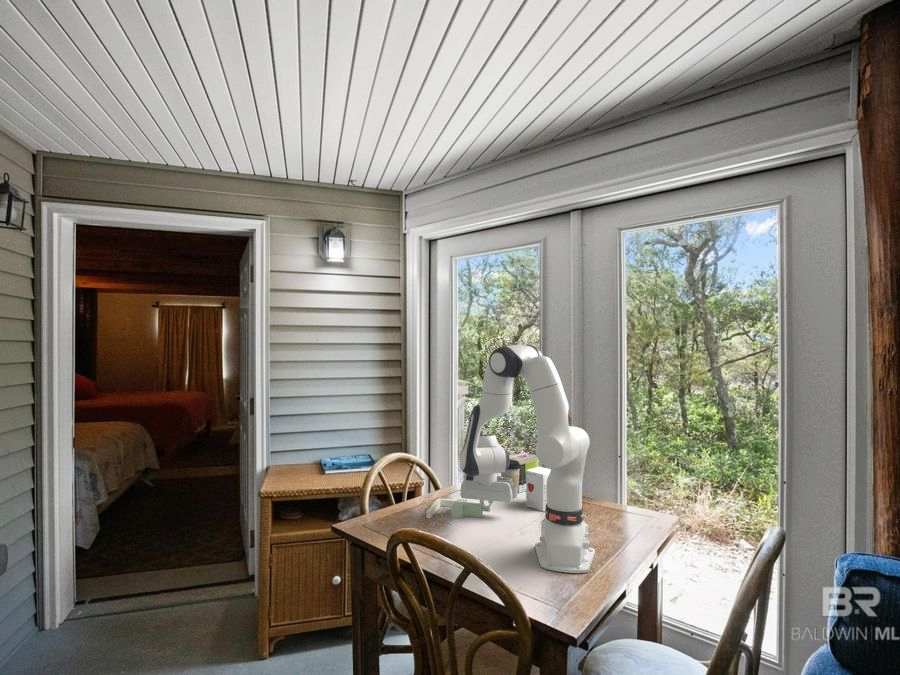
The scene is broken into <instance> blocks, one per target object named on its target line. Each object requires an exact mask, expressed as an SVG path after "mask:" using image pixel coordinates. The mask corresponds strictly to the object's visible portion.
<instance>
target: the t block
mask: <svg viewBox="0 0 900 675" xmlns="http://www.w3.org/2000/svg"><path fill="white" fill-rule="evenodd" d="M455 500H456V502H455V503H454V504H453V506H452V507H451V515H450V516H451V517H450V518H455V519H462V518H463V517H464V516H465V517H475V518H476V517H477V518H482V516H483V514H484V511H483V507H482V506H481V504H480V502H471V501H468V499H466V498H457V499H455Z"/></svg>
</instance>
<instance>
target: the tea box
mask: <svg viewBox="0 0 900 675" xmlns="http://www.w3.org/2000/svg"><path fill="white" fill-rule="evenodd" d="M509 456H510V460H515V461H518V462H519V464H520V466H521V467H520V470H519V473H520V474H519V485H518V492H517V494H520V493H523V492H526V470H528V469H532V468H536V467H540V461H539V459H538V458H537V455H535V454H530V453H527V452H520V453H517V454H516V453H515V454H512V455H509Z"/></svg>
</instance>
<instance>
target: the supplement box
mask: <svg viewBox="0 0 900 675" xmlns="http://www.w3.org/2000/svg"><path fill="white" fill-rule="evenodd" d="M550 471H551V468H548V467H547V468H546V467H542V466H539V467H536V468H532V469H528V470H526V491H525V492H526V493H525V494H526V496H525V497H526V498H525V502H526V503H525V506H526V507H529V508H531V509H535V510H537V511H540V512H545V508H546V504H547V479H548V476H549V474H550Z"/></svg>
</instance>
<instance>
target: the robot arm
mask: <svg viewBox="0 0 900 675" xmlns="http://www.w3.org/2000/svg"><path fill="white" fill-rule="evenodd" d="M556 368H557V367H555V365H554V363H553V361H552V359H551V358H550V357H548V356H547V355H546V356H545V355H543V353H542V351H541V350H540V349H539V348H538V347H537V346H535V345H531V344H511V345H507V346H505V345H504V346H499V347H498V348H495V349H494V350H492V352H491V353H490V354H489V358H488V364H487V365H486V367H485V369H484V373H483V374H484V375H483V379H482V380H483V381H482V390H481V391H482V392H481V397H480V399H479V401H478V403H477V404H475V405H474V406H473V408H472V410H471V413H470V417H469V421H468V426H467V431H466V435H465V440H464V442H463V443H464V444H463V447H462V450H461V454H460V459H459V466H460V470H461V471H462V472H463V478H462V479H463V481H462V482H461V484H460V485H461V486H460V491H459V492H460V494H459V495H460V497H461V499H467V500H470V499H471V500H479V503H480V504H481V506H482V507H483V512H487V513H490V512H491V506H492V504H493V503H494V502H502V503H511V502H512V501H513V498H512V487H513V481H512V480H511V479H510V478H509V477H501V475H499V476H498V474H501V473H502V472H505V471H506V470H507V469H508V467H509V465H510V456H511V455H510V453H509V451H508V450H507V448H504V447H503V446H501V445H500V443H499V442H498V439H497V435H496V434H491V433H489V434H481V430H482V429H483V427H484V426H485V425H486V424H487V423H488V422H490V421H492V420H494V419H496V418H499V417H501V416H503V415H504V414H505V413H506V412H508V411H509V410H510V408H511V406H512V403H513V389H514V388H513V385H514V380H515V378H517V377H521V378H523V379H524V381H525V382H526V385H527V389H528V393H529V395H530V399H531V403H532V406H533V409H534V412H535V416H536V425H537V427H536V428H537V442H536V445H535V454H536V455H537V458H538V459H539V463H541V464H543V466H544V467H547V468H550V469H551V471H550V474H549V476H548V479H547V504H546V508H545V511H544V513H545V515H544V516H545V518H543V519H542V520H541V523H540V524H541V525H540V526H541V527H540V530H541V531H540V532H541V534H540V537H539V541H538V542H535V543H534V549H535V553H536V556H537V559H538V563H539V566H540V567H541V568H543V569H546V570H549V571H554V572H561V573H569V574H570V573H571V574H584V573H585V574H586V573H588V572H589V570H590V568H591V565H592V562H593V560H594V557H595V556H596V550H595V549H594V548H592V547H591V541H589V539H590V533H589V525H588V524H587V523H586V522H585V521H584V520H585V518H584V515H585V511H584V506H583V478H584V477H583V476H584V472H585V467H586V460H587V454H588V450H589V447H590V444H591V443H590V437H589V434H588V433H587V432H586V431H585V430H584V429H583V428H581V427H577V426H573V425H571V426H570V425H569V424H570V423H569V410H570V406H569V402H568V397H567V395H566V393H565V390H564V386H563V384H562V380H561V378H560V376H559V373H558V371H557V369H556ZM509 479H510V480H509ZM485 501H488V505H486V504H485Z"/></svg>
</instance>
